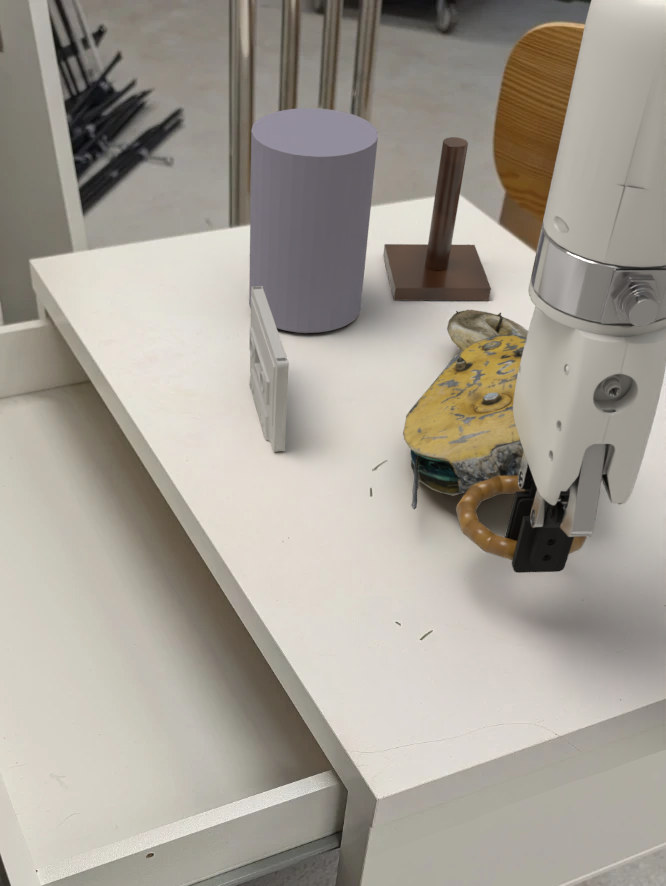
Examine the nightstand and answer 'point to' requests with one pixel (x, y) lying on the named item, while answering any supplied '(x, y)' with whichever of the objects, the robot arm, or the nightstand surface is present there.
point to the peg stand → (439, 245)
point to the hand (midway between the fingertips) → (533, 555)
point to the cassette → (268, 370)
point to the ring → (482, 533)
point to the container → (311, 215)
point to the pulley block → (469, 408)
